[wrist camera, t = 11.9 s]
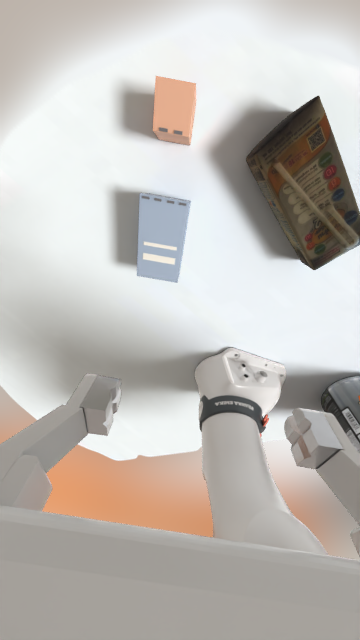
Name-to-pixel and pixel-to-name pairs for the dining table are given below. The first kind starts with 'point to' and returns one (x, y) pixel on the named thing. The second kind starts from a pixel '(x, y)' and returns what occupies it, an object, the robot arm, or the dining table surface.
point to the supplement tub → (345, 406)
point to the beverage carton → (308, 185)
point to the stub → (174, 110)
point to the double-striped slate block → (161, 236)
